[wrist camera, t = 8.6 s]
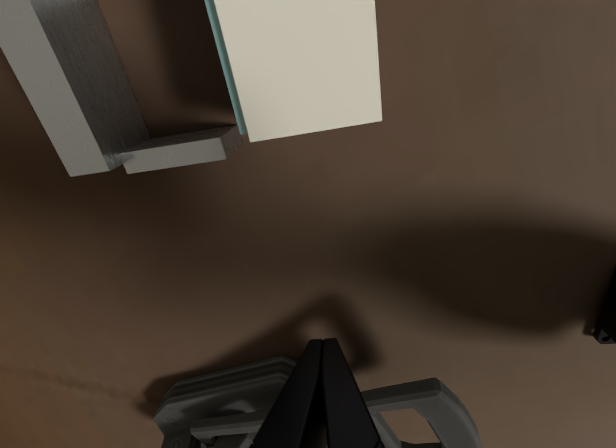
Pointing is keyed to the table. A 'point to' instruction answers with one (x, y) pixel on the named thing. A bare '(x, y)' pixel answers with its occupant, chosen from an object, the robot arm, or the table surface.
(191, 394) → the zipper pull
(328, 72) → the cream matte cube
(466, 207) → the table surface
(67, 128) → the cleat
